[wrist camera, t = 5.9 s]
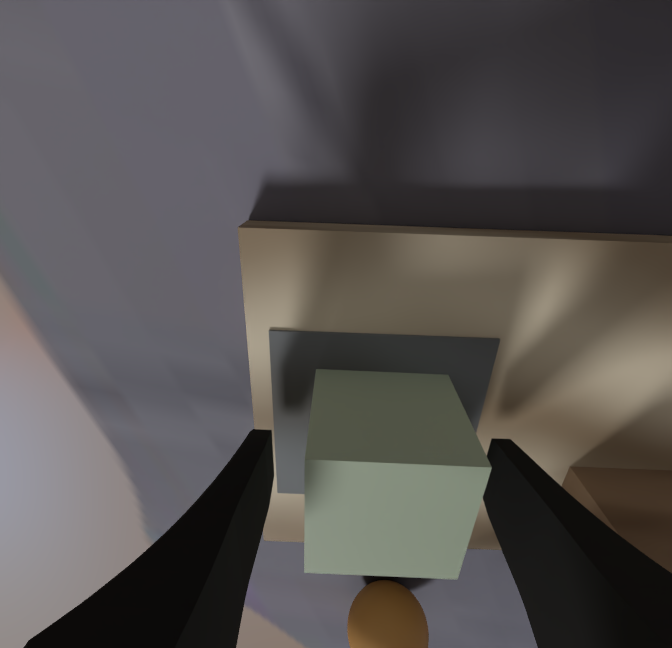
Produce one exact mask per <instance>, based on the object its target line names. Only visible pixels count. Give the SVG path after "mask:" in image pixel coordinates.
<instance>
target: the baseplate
mask: <svg viewBox="0 0 672 648" xmlns="http://www.w3.org/2000/svg"><path fill="white" fill-rule="evenodd" d="M238 236H239V248H240V260H241V272H242V284H243V296H244V308H245V319H246V331H247V343H248V355H249V367H250V379H251V391H252V403H253V415H254V427H255V429H261V430H272V444H273V462H274V480H273V487H272V493H271V499H270V505H269V509H268V513H267V517H266V521H265V524H264V528H263V534H264V541H287V542H304V507H305V452H306V444H307V437H308V429H309V421H310V413H311V405H312V397H313V389H314V381H315V374H316V369H328V370H351V371H374V372H397V373H420V374H443V375H449V377H450V380H451V382H452V384H453V386H454V388H455V390H456V392H457V394H458V397H459V399H460V401H461V403H462V405H463V407H464V409H465V411H466V414H467V416H468V418H469V420H470V422H471V424H472V426H473V428H474V431H475V433H476V435H477V437H478V439H479V441H480V443H481V445H482V448H483V450H484V452H485V454H486V456H487V453H488V449H489V446H490V442H491V439H492V438H497V439H511V440H512V441H513V442H514V443H515V444H517V445H518V446H519V447H520V448H521V449H522V450H523V451H524V452H525V453H526V454H527V455H528V456H529V457H530V458H531V459H533V460H534V461H535V462H536V463H537V464H538V465H539V466H540V467H541V468H542V469H543V470H544V471H545V472H546V473H547V474H548V475H550V476H551V477H552V478H553V479H554V480H555V481H556V482H557V483H558V484H559V485H560V486H562V483H563V481H564V479H565V476H566V474H567V472H568V469H569V467H595V468H621V469H647V470H672V236H665V235H638V234H610V233H583V232H555V231H528V230H500V229H472V228H445V227H417V226H390V225H362V224H335V223H307V222H279V221H252V220H248V221H246V222H245V223H243V224H242V225H241V226H239V227H238ZM467 549H491V550H502V549H501V547H500V544H499V542H498V539H497V537H496V534H495V532H494V529H493V527H492V525H491V522H490V519H489V517H488V514H487V511H486V507H485V504H484V501H483V498H482V501H481V505H480V508H479V511H478V514H477V518H476V521H475V524H474V527H473V531H472V534H471V537H470V540H469V543H468V547H467Z"/></svg>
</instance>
